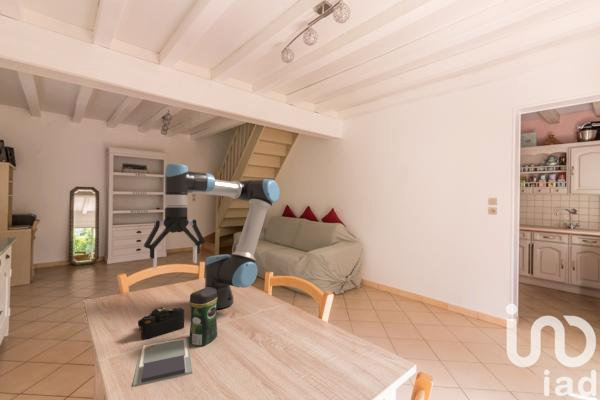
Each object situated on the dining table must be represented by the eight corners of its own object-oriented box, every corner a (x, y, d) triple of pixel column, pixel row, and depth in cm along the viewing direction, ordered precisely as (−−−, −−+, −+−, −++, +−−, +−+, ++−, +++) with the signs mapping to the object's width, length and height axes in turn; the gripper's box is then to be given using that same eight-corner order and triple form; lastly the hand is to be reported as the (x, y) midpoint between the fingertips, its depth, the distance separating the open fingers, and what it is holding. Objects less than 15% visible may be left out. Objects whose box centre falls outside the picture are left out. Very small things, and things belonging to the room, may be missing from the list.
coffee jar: (203, 332, 106) (204, 284, 107) (220, 336, 104) (221, 286, 104) (184, 344, 97) (185, 291, 97) (202, 349, 94) (203, 294, 95)
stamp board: (187, 339, 101) (187, 337, 101) (192, 373, 81) (192, 370, 81) (140, 348, 95) (140, 345, 95) (132, 387, 75) (132, 384, 75)
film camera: (168, 321, 117) (168, 297, 117) (189, 327, 111) (189, 302, 111) (125, 339, 101) (126, 311, 101) (147, 347, 95) (148, 318, 95)
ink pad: (185, 358, 88) (185, 354, 88) (186, 372, 80) (186, 368, 80) (142, 367, 83) (142, 363, 83) (139, 383, 75) (139, 379, 75)
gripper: (207, 206, 112) (206, 259, 111) (135, 206, 97) (134, 267, 97) (213, 206, 106) (213, 262, 105) (138, 207, 91) (137, 272, 91)
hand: (175, 265), depth 101 cm, fingers open, 13 cm apart
